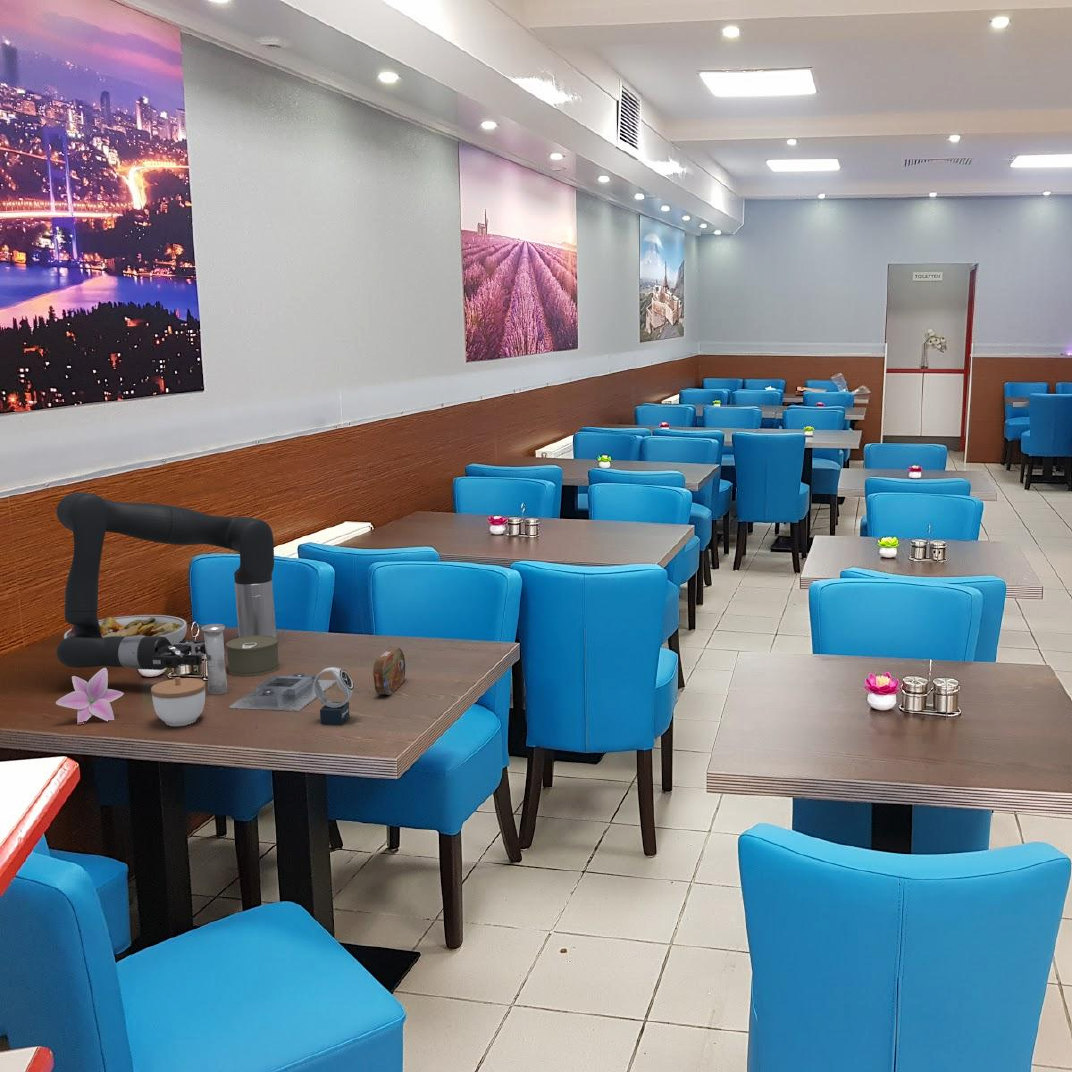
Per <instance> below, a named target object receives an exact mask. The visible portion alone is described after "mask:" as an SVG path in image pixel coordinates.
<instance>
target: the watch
mask: <svg viewBox="0 0 1072 1072" xmlns="http://www.w3.org/2000/svg"><path fill="white" fill-rule="evenodd" d="M325 673H331V674H332V675H333V676H334V680H336V684H337V686H338V688H339V689H340V690H341V691H342V692H343V693H344V694H345V696H346V699H345V700H344V701H331V700H328V697H327V696H326V694H325V692H323V691H322V688H321V686H320V684H319V682H318V680H320V676H321V675H322V674H325ZM313 689H314V691H315V694H316V696H317V698H316V699H318V701H319V702H320V703H321V705H323V706H322V707H321V708H320V709H319V718H320V719H319V721H320V725H321V724H322V725H321V726H342V725H343V724H344V723H345V722H346V721H347V720H348V719H349V718H348V717H350V702H349V700H350V699H351V697H352V695H353V692H354V689H355V684H354V681H353V679H352V677H351V676H350V673H349V672H348V671H346V670H345V669H343V668H340V667H334V666H330V667H326V668H324V669H322V670H321V671H320V672H319V673H318V674H317V675H315V680H314V688H313Z"/></svg>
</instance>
